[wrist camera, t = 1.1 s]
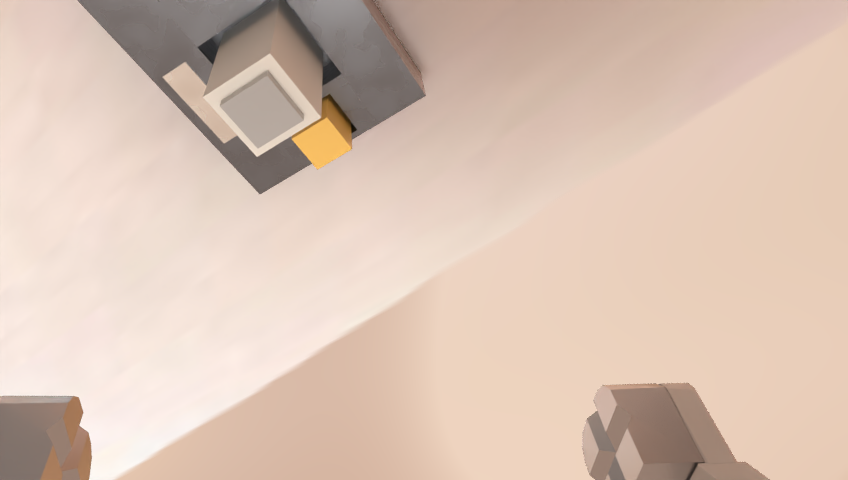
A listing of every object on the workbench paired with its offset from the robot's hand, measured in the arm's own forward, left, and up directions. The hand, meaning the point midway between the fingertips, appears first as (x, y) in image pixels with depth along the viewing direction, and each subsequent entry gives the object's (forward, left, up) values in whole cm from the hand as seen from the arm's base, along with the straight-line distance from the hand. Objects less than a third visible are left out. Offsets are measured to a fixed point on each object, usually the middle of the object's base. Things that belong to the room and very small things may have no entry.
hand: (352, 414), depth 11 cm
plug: (+7, +4, -33) cm, 34 cm away
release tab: (+7, +8, -32) cm, 34 cm away
